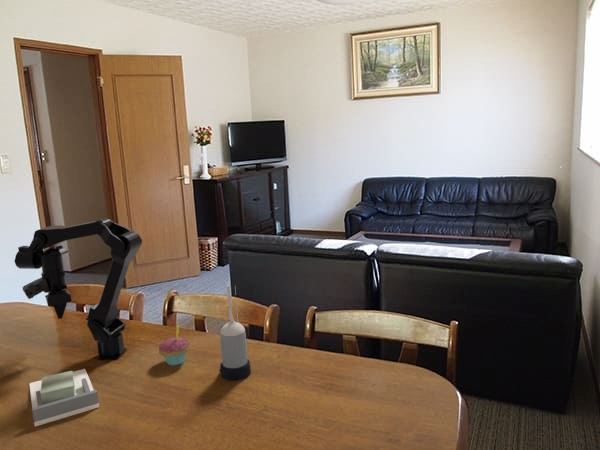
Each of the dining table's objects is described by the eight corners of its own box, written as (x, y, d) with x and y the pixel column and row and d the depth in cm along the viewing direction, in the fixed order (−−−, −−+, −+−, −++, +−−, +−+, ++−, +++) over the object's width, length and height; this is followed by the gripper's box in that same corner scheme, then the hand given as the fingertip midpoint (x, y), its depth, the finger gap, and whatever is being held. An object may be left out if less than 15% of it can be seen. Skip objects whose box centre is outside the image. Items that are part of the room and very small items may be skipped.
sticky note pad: (44, 394, 126) (42, 377, 125) (74, 387, 129) (72, 370, 128) (43, 411, 118) (40, 393, 117) (75, 403, 121) (73, 386, 120)
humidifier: (217, 370, 137) (210, 283, 132) (246, 364, 140) (240, 278, 135) (223, 383, 130) (216, 292, 125) (254, 377, 132) (248, 287, 127)
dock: (29, 386, 134) (27, 369, 134) (85, 372, 141) (83, 355, 140) (35, 430, 114) (32, 410, 113) (99, 410, 121) (97, 392, 120)
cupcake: (194, 355, 147) (190, 316, 144) (185, 369, 138) (181, 328, 136) (166, 355, 148) (162, 317, 145) (155, 368, 139) (151, 328, 137)
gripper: (20, 266, 152) (28, 315, 155) (23, 281, 136) (32, 335, 139) (61, 260, 157) (67, 307, 160) (67, 273, 141) (75, 325, 144)
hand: (60, 318), depth 151 cm, fingers closed
